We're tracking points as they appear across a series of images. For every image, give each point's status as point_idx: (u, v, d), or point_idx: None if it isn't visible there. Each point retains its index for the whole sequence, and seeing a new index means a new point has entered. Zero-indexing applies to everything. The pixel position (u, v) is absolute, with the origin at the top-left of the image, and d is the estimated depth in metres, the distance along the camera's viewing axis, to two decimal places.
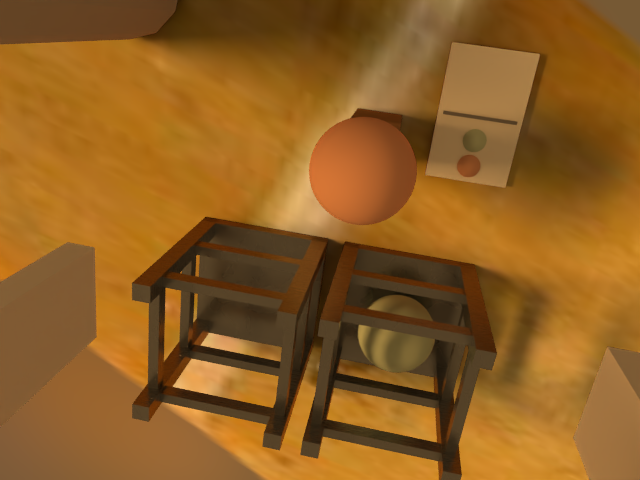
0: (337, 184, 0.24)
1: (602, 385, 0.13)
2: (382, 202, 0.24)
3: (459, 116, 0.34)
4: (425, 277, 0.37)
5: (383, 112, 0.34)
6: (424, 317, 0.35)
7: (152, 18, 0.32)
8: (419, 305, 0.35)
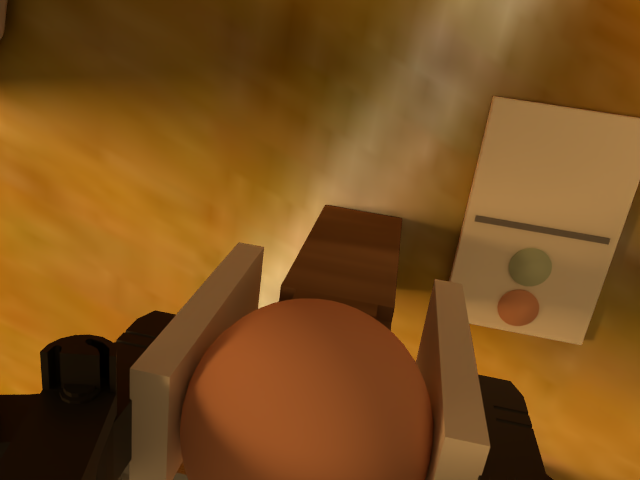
0: None
1: (429, 311, 0.15)
2: None
3: (504, 226, 0.19)
4: None
5: (369, 213, 0.20)
6: None
7: None
8: None
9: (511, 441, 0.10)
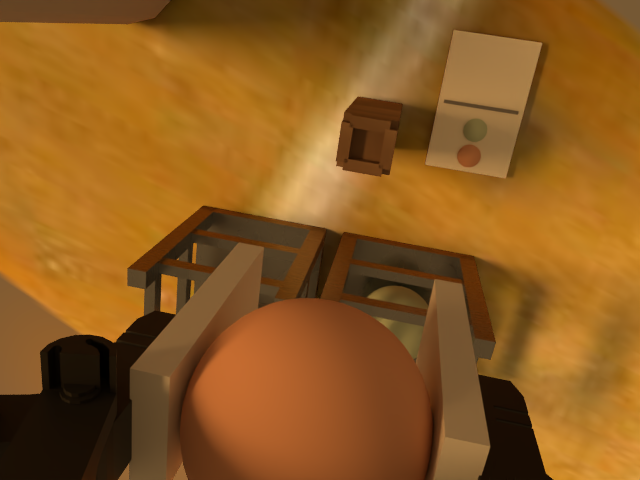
0: None
1: (429, 311, 0.15)
2: None
3: (460, 105, 0.33)
4: (423, 269, 0.37)
5: None
6: (422, 308, 0.34)
7: (150, 2, 0.31)
8: (417, 296, 0.35)
9: (511, 441, 0.10)
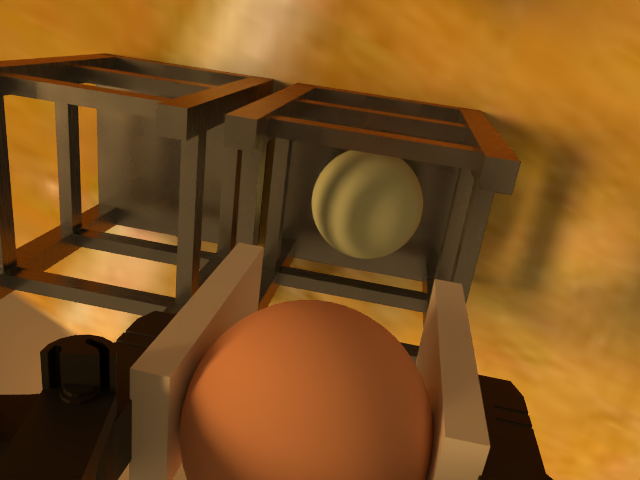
0: None
1: (429, 311, 0.15)
2: None
3: None
4: None
5: None
6: (406, 172, 0.24)
7: None
8: (399, 158, 0.24)
9: (511, 442, 0.10)
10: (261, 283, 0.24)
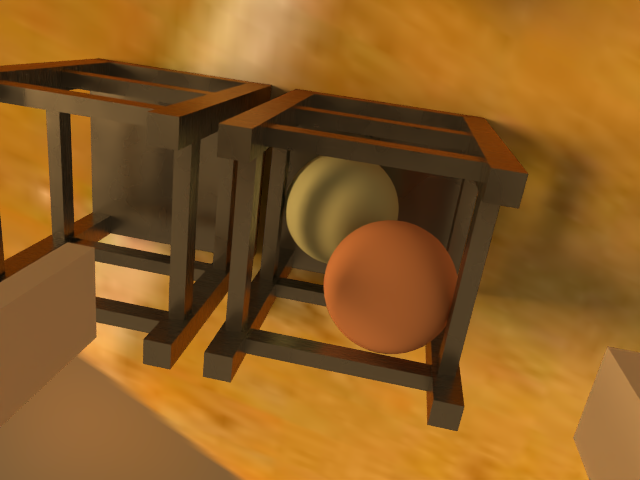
0: None
1: (602, 385, 0.13)
2: None
3: None
4: None
5: None
6: (368, 178, 0.22)
7: None
8: (373, 165, 0.23)
9: None
10: (258, 296, 0.23)
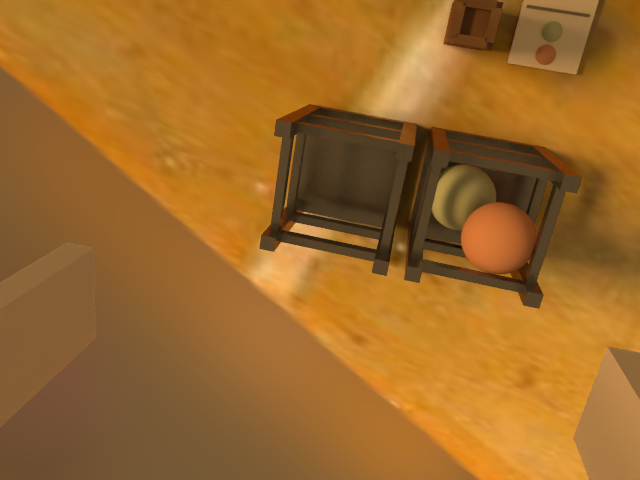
0: None
1: (602, 385, 0.13)
2: None
3: (540, 10, 0.40)
4: None
5: None
6: (483, 180, 0.40)
7: None
8: (483, 173, 0.41)
9: None
10: None
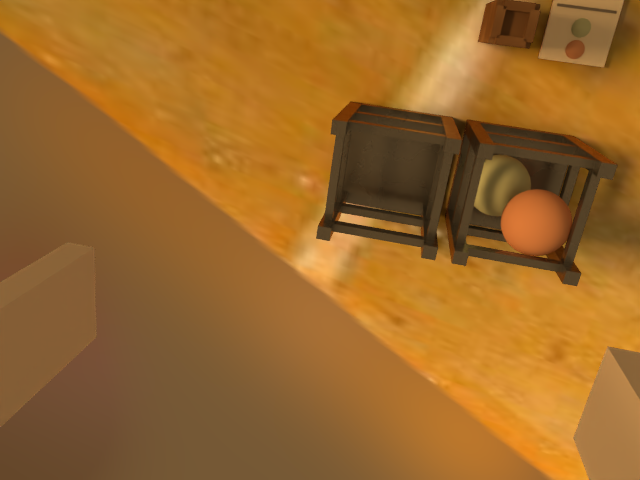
0: None
1: (601, 385, 0.13)
2: None
3: (570, 8, 0.43)
4: None
5: None
6: (519, 168, 0.43)
7: None
8: (519, 162, 0.44)
9: None
10: None
